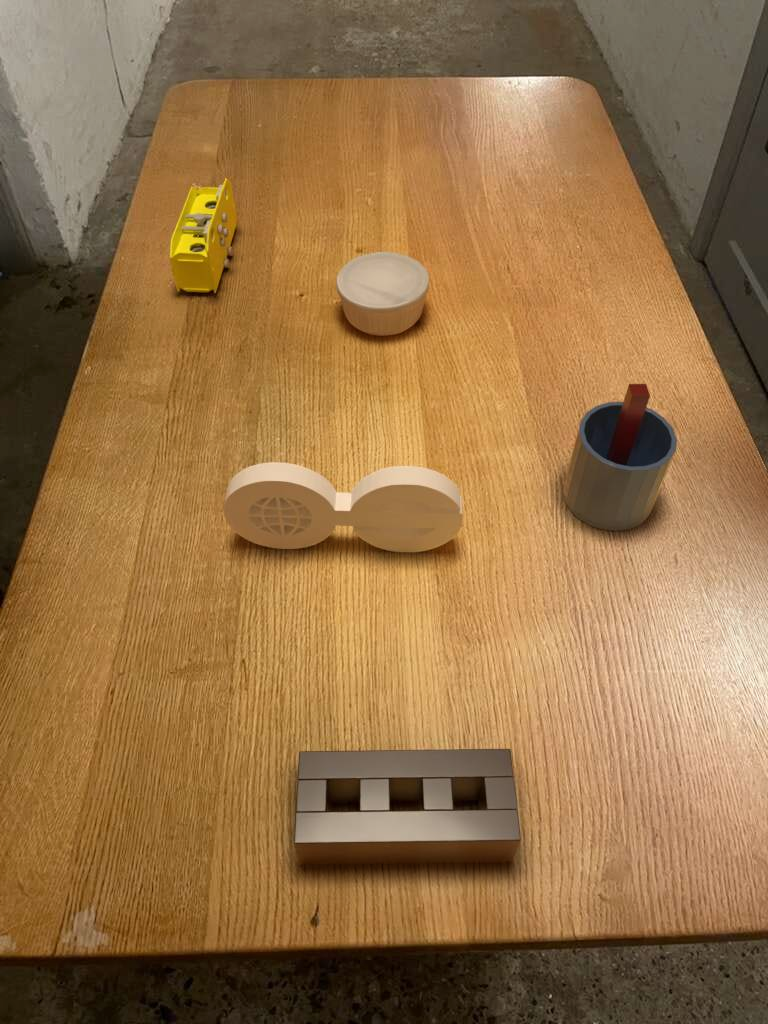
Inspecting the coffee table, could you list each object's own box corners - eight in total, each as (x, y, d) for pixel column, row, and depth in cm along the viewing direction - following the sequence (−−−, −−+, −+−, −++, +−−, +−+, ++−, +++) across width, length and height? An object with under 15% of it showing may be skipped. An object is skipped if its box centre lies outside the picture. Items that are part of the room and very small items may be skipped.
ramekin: (337, 343, 100) (335, 307, 96) (338, 287, 108) (336, 251, 103) (430, 342, 101) (432, 306, 97) (424, 286, 108) (426, 250, 104)
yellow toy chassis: (220, 298, 106) (210, 240, 100) (176, 296, 106) (162, 238, 100) (241, 227, 116) (233, 171, 110) (200, 226, 116) (190, 169, 110)
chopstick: (615, 497, 84) (650, 395, 74) (599, 497, 84) (632, 395, 74) (612, 485, 86) (646, 383, 75) (597, 486, 85) (628, 383, 75)
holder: (512, 862, 63) (521, 840, 59) (299, 864, 63) (293, 843, 59) (503, 773, 67) (510, 748, 63) (303, 776, 67) (298, 750, 63)
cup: (669, 516, 84) (696, 455, 77) (591, 541, 82) (610, 481, 75) (622, 454, 89) (643, 392, 82) (547, 477, 87) (562, 415, 80)
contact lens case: (231, 547, 81) (216, 479, 73) (235, 529, 83) (219, 460, 75) (458, 553, 81) (466, 485, 73) (457, 535, 82) (465, 467, 74)
